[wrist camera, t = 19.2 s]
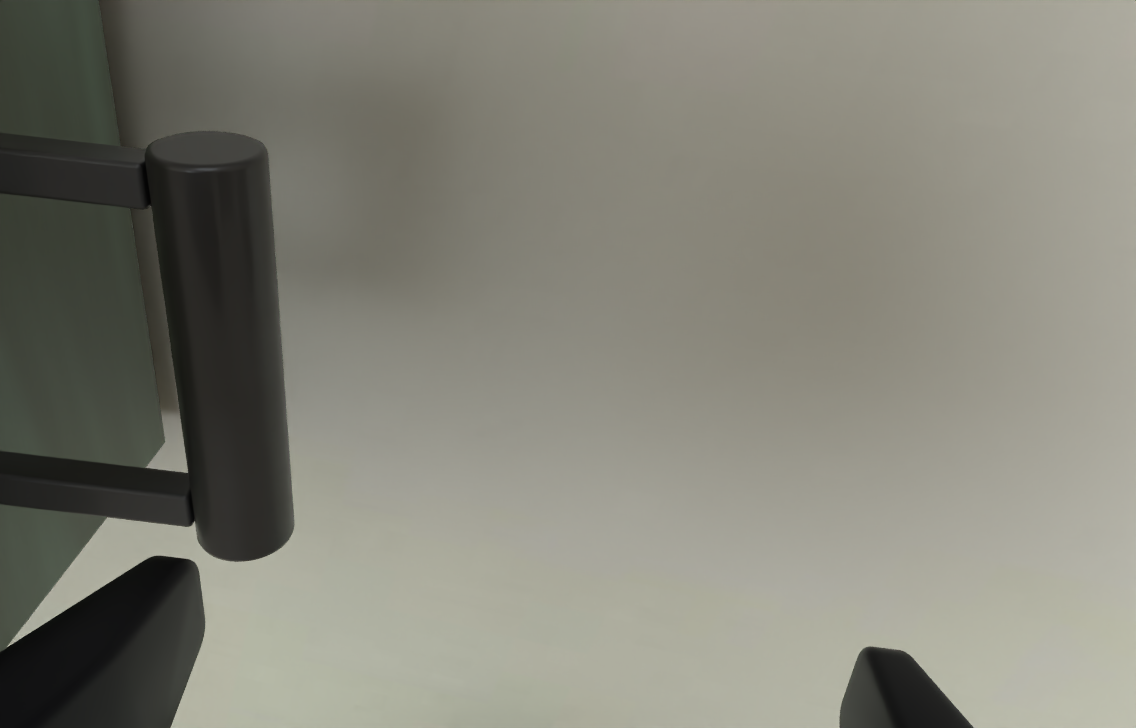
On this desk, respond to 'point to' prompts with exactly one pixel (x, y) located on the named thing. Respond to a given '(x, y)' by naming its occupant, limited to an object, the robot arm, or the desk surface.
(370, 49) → the desk surface
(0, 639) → the drawer
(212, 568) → the desk surface
